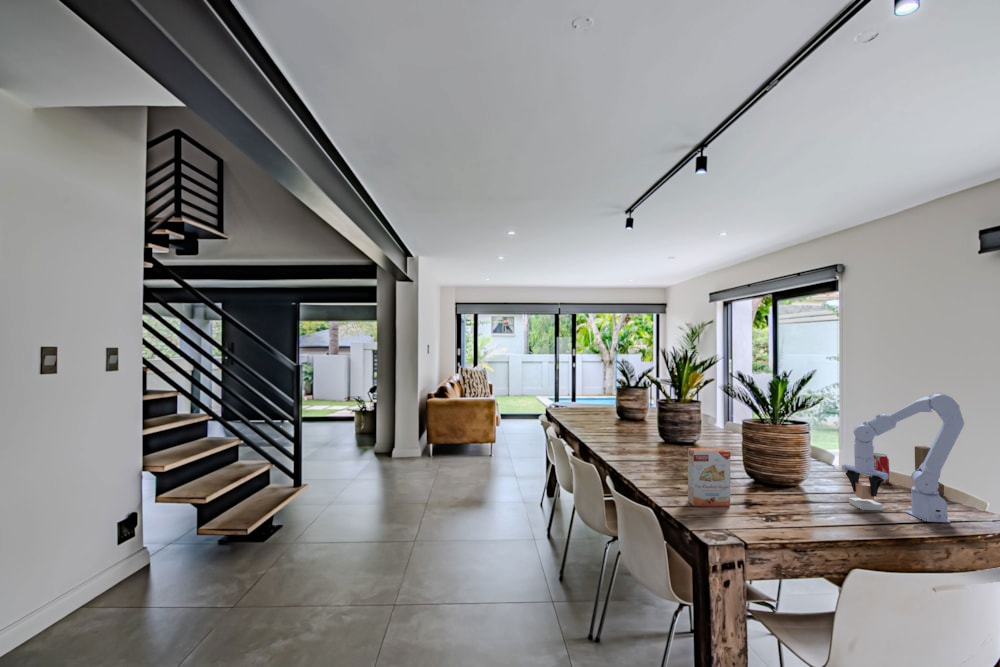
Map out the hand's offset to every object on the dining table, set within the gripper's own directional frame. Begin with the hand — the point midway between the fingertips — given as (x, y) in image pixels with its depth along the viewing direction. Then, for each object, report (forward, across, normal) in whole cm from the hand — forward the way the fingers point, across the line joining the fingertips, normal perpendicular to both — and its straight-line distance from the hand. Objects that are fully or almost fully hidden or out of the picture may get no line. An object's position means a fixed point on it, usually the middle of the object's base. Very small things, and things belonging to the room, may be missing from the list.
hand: (864, 493), depth 174 cm
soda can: (+5, +17, -42) cm, 46 cm away
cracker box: (+5, +25, +52) cm, 58 cm away
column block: (+2, 0, 0) cm, 2 cm away
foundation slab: (+5, 0, 0) cm, 5 cm away
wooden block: (+5, 0, -44) cm, 44 cm away
